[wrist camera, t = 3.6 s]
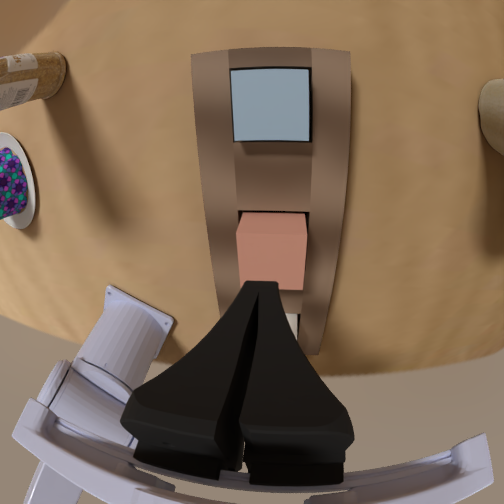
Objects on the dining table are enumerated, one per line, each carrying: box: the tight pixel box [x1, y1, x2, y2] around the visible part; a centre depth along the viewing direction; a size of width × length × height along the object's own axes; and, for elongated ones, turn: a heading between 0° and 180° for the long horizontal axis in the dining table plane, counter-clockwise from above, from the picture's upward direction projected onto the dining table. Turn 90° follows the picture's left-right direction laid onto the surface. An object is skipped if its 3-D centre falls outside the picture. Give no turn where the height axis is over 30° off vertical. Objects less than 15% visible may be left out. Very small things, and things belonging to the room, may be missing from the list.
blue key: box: [231, 69, 309, 141], centre depth 14 cm, size 4×4×3 cm
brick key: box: [236, 212, 307, 290], centre depth 17 cm, size 4×4×3 cm
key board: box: [191, 47, 351, 355], centre depth 19 cm, size 25×9×2 cm, turn 2°
